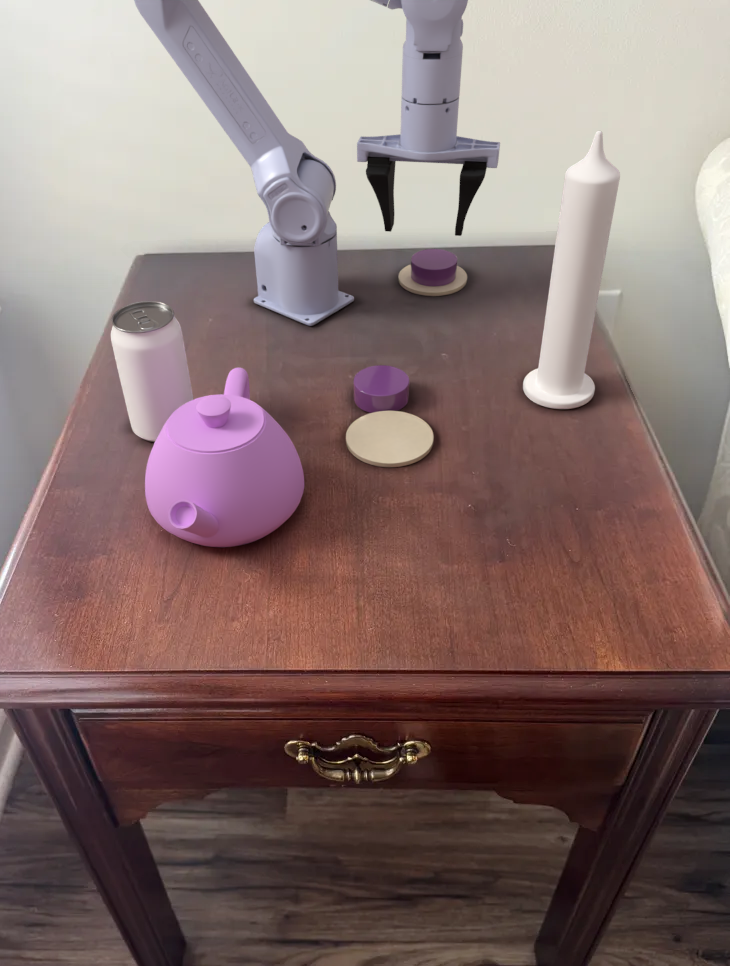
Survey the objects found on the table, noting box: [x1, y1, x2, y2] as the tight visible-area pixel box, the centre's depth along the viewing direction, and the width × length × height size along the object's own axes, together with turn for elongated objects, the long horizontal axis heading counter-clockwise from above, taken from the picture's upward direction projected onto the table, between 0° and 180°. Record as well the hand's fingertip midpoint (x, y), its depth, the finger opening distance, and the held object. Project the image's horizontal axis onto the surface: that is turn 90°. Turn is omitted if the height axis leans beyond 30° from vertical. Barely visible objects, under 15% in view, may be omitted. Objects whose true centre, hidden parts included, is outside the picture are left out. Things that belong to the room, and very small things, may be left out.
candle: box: [522, 130, 621, 410], centre depth 78 cm, size 7×7×25 cm
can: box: [110, 300, 194, 443], centre depth 81 cm, size 6×6×12 cm
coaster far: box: [397, 263, 468, 297], centre depth 105 cm, size 8×8×1 cm
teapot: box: [144, 367, 305, 548], centre depth 72 cm, size 14×20×11 cm
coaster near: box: [345, 410, 435, 468], centre depth 82 cm, size 8×8×1 cm
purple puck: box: [353, 364, 410, 414], centre depth 86 cm, size 6×6×2 cm
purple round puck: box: [410, 248, 458, 286], centre depth 104 cm, size 6×6×2 cm
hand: (423, 229), depth 94 cm, fingers open, 7 cm apart
